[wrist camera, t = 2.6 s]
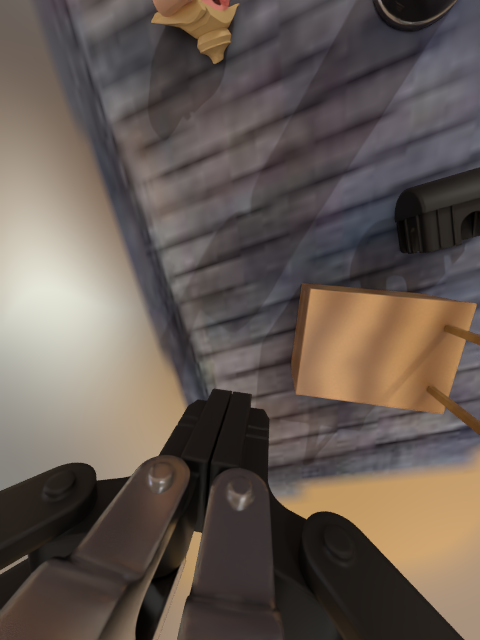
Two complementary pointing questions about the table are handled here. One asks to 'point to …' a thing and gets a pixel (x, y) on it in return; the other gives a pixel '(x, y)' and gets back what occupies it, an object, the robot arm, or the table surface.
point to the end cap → (439, 213)
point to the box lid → (384, 350)
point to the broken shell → (199, 22)
